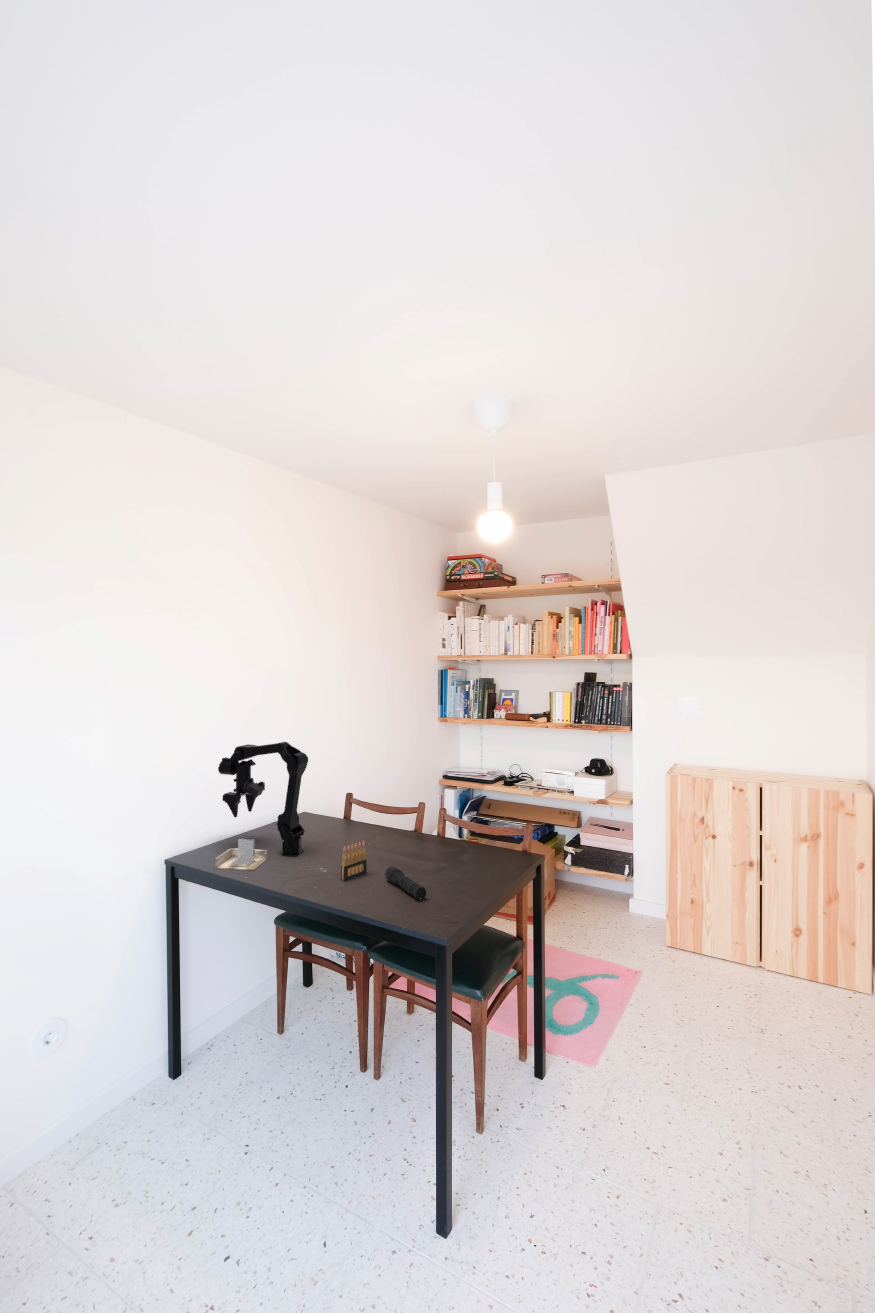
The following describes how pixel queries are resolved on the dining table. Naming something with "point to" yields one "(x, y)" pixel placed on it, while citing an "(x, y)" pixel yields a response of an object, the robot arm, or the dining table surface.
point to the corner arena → (232, 854)
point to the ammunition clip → (353, 861)
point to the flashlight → (405, 882)
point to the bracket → (245, 853)
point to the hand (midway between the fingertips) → (242, 814)
